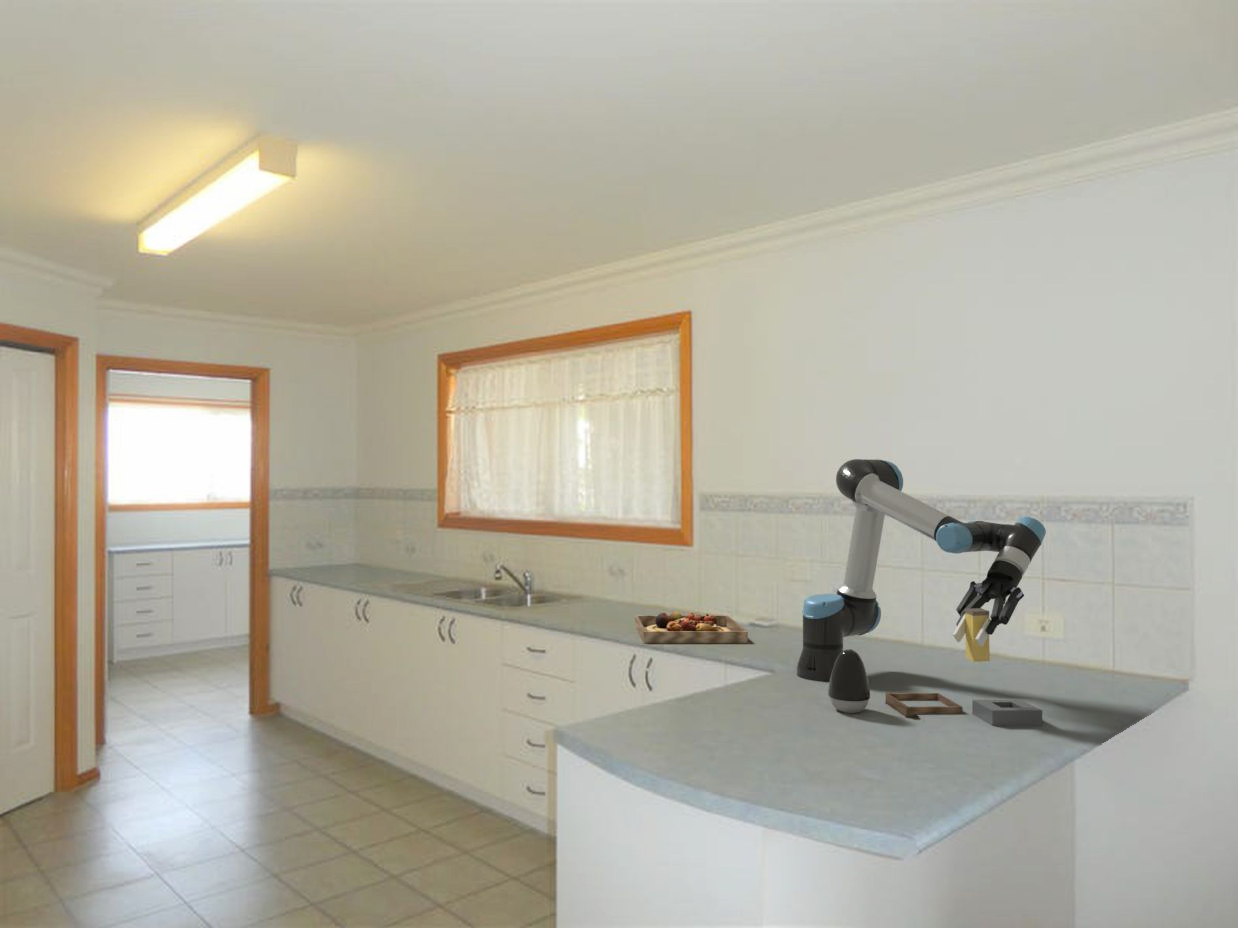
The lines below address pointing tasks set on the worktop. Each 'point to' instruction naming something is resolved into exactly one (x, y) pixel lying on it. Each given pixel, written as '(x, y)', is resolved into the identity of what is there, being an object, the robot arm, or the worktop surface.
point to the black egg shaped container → (849, 683)
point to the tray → (911, 712)
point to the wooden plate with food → (685, 623)
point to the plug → (972, 628)
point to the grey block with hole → (1007, 712)
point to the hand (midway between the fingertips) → (967, 640)
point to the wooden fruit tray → (691, 632)
